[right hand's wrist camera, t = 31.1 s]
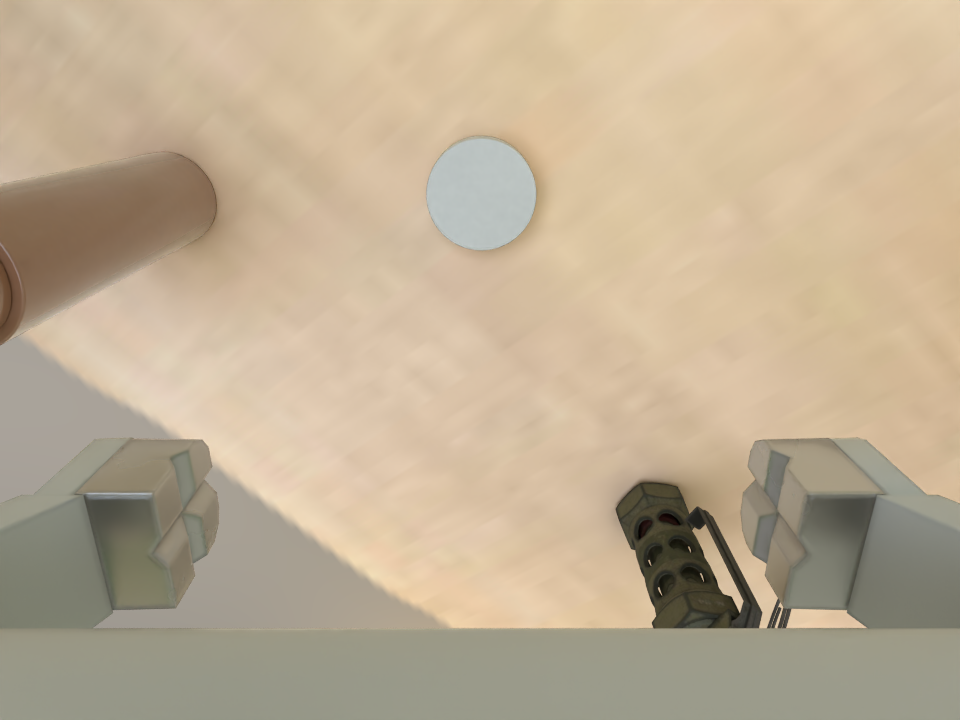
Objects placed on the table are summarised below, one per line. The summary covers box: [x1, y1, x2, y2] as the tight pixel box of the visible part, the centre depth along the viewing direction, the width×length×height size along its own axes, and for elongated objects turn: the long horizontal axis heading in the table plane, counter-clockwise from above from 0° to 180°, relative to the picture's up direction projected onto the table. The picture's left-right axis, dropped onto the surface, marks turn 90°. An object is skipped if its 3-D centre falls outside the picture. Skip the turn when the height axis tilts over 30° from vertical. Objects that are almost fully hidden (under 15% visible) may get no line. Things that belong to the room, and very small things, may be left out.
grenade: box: [616, 483, 791, 628], centre depth 39 cm, size 9×6×15 cm, turn 143°
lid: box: [426, 136, 536, 250], centre depth 38 cm, size 6×6×2 cm
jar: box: [0, 152, 216, 345], centre depth 30 cm, size 5×5×20 cm
